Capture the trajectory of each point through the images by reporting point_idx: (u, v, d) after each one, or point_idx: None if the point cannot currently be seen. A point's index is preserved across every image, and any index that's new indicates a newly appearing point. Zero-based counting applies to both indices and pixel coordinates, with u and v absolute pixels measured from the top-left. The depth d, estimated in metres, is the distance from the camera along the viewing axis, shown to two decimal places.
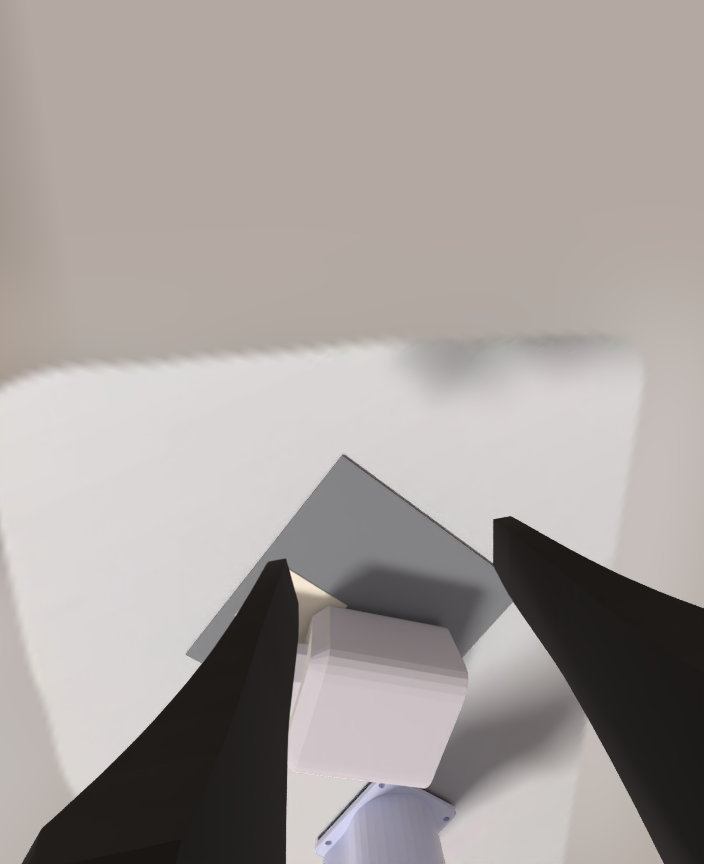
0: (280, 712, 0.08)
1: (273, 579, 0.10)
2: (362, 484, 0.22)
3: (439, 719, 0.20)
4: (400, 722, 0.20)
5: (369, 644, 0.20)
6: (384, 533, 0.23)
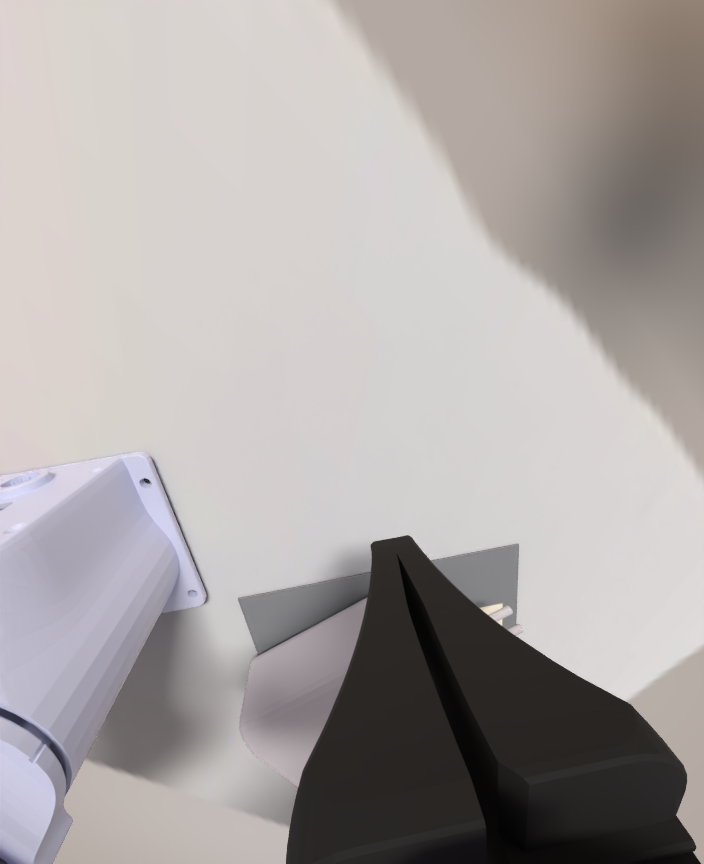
0: None
1: (390, 557, 0.10)
2: None
3: None
4: None
5: None
6: None
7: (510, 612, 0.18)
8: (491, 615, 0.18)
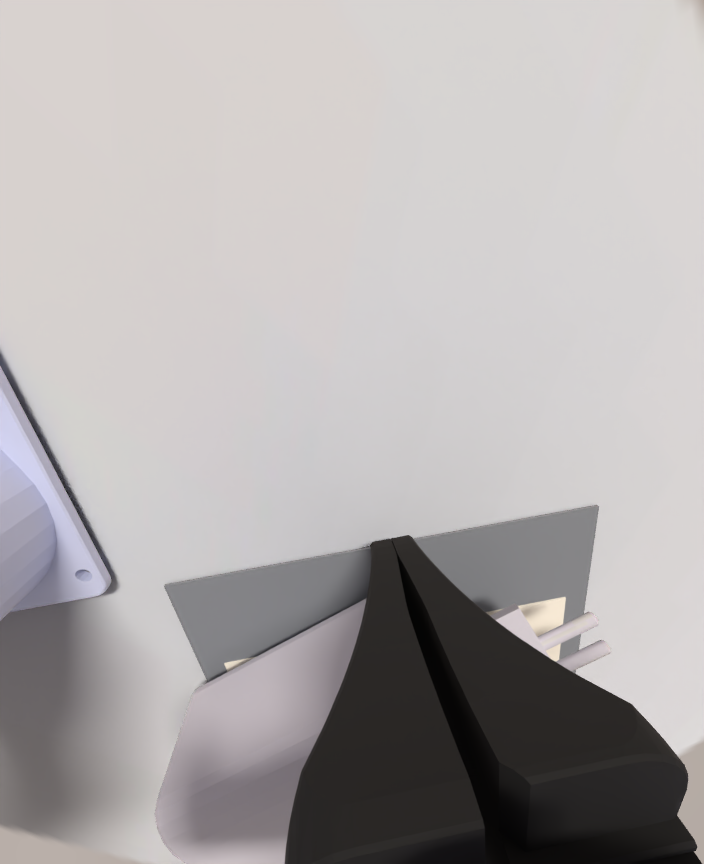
0: None
1: (390, 557, 0.10)
2: None
3: None
4: None
5: None
6: None
7: (596, 623, 0.11)
8: (564, 627, 0.11)
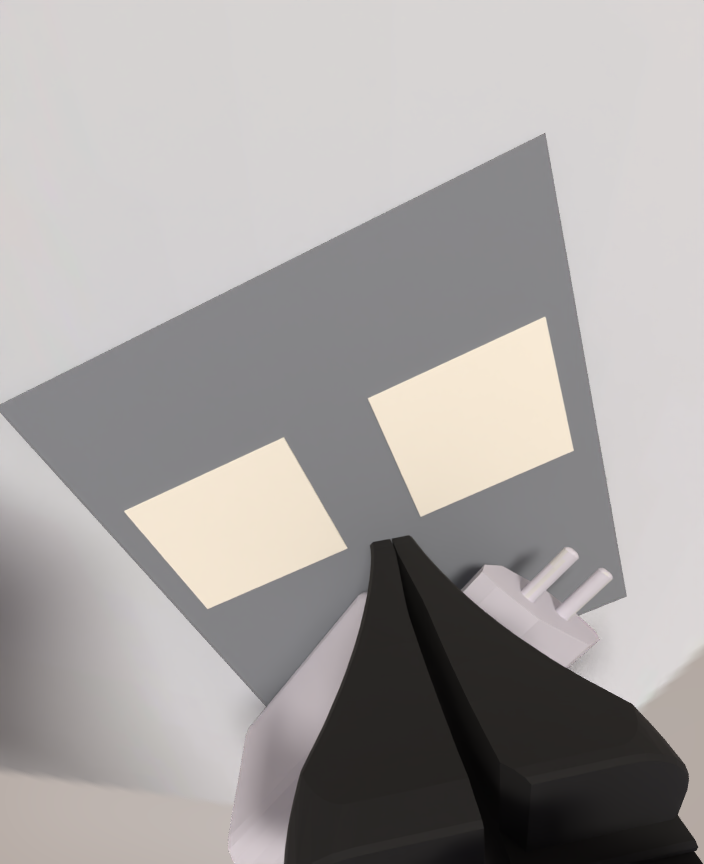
0: None
1: (389, 557, 0.10)
2: None
3: None
4: None
5: None
6: None
7: (573, 557, 0.10)
8: (543, 572, 0.10)
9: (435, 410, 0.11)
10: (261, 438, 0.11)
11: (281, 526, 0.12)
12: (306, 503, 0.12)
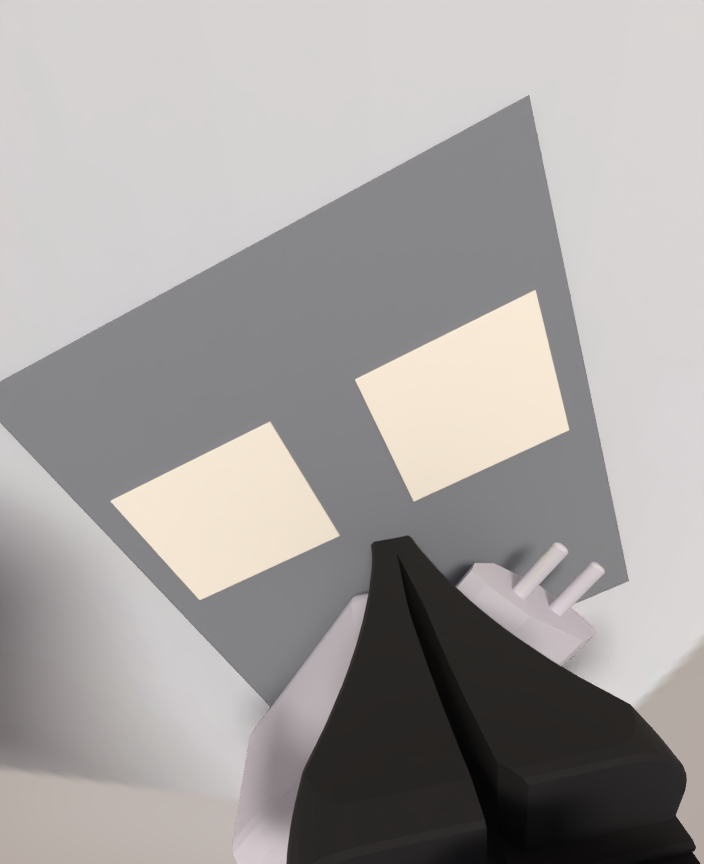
0: None
1: (390, 557, 0.10)
2: None
3: None
4: None
5: None
6: None
7: (563, 552, 0.10)
8: (534, 568, 0.10)
9: (425, 390, 0.11)
10: (246, 423, 0.10)
11: (271, 514, 0.12)
12: (296, 490, 0.11)
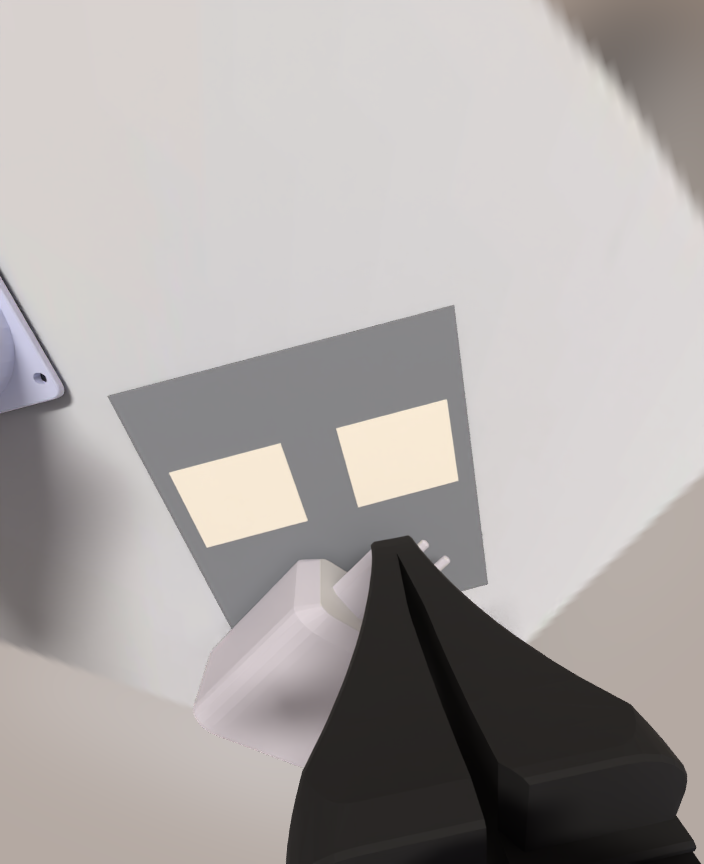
0: None
1: (390, 557, 0.10)
2: None
3: (295, 750, 0.19)
4: (312, 724, 0.18)
5: None
6: None
7: (425, 545, 0.17)
8: None
9: (376, 442, 0.18)
10: (266, 441, 0.17)
11: (267, 499, 0.18)
12: (286, 487, 0.18)
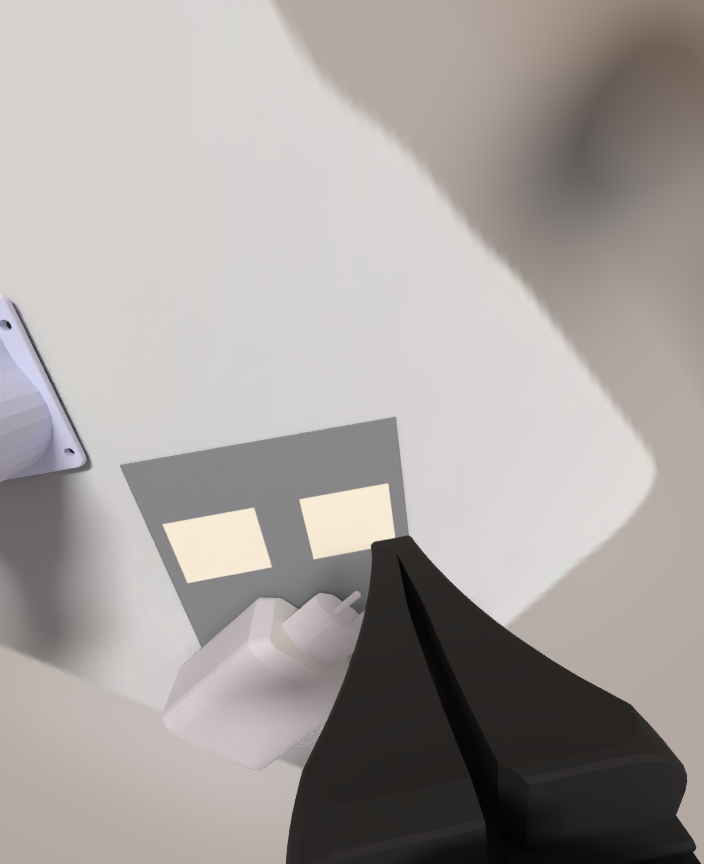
0: None
1: (390, 557, 0.10)
2: None
3: (243, 753, 0.23)
4: (258, 733, 0.22)
5: None
6: None
7: (357, 596, 0.22)
8: (344, 601, 0.22)
9: (331, 511, 0.22)
10: (242, 505, 0.22)
11: (240, 548, 0.23)
12: (256, 540, 0.23)
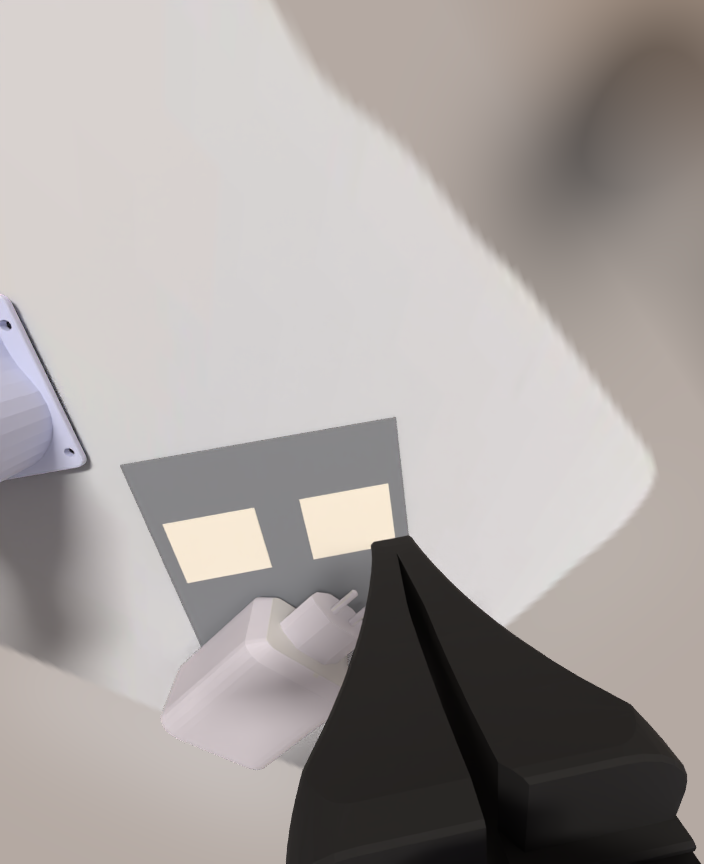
0: None
1: (390, 557, 0.10)
2: None
3: (242, 754, 0.23)
4: (257, 733, 0.22)
5: None
6: None
7: (354, 595, 0.22)
8: (341, 600, 0.22)
9: (331, 511, 0.22)
10: (242, 506, 0.22)
11: (240, 549, 0.23)
12: (256, 540, 0.23)
